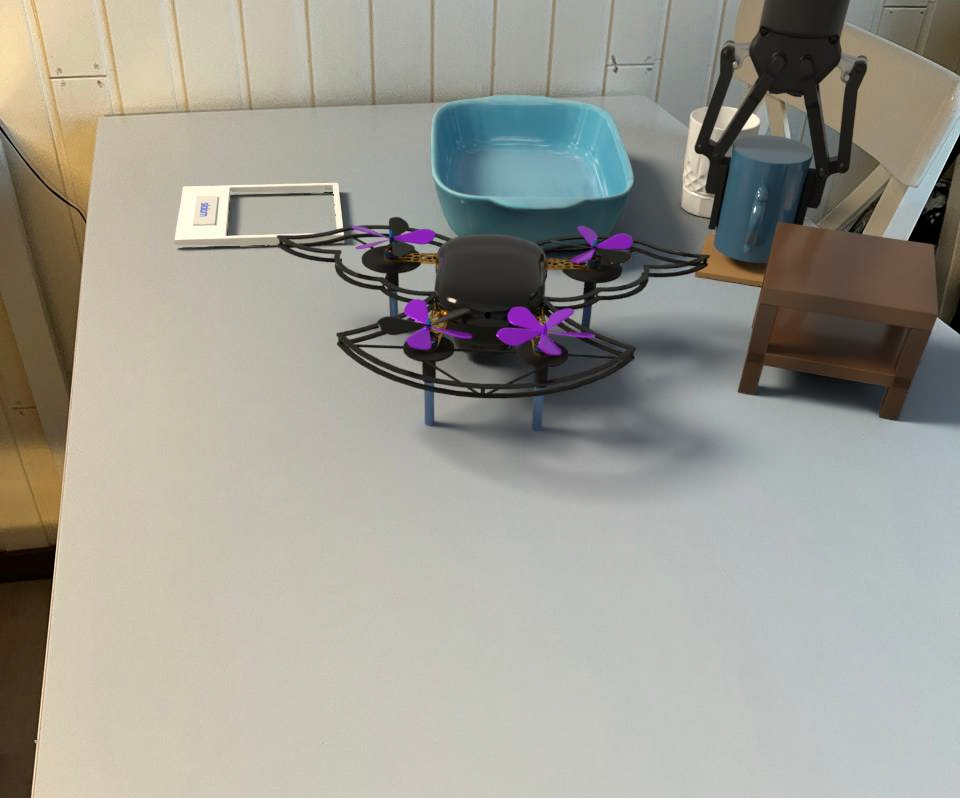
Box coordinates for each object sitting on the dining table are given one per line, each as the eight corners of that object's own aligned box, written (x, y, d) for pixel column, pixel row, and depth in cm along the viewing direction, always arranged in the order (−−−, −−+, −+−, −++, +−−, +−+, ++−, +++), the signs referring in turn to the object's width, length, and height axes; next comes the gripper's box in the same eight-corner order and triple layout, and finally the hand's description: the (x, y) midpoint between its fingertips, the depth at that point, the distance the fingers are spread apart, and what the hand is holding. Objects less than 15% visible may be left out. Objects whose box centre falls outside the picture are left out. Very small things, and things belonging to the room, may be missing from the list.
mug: (790, 237, 109) (815, 141, 101) (782, 280, 101) (808, 179, 94) (717, 226, 110) (737, 130, 103) (704, 268, 103) (724, 167, 95)
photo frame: (183, 184, 115) (337, 181, 118) (184, 194, 116) (338, 190, 118) (174, 238, 105) (343, 233, 107) (176, 248, 106) (344, 243, 108)
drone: (709, 220, 92) (755, 378, 72) (690, 317, 99) (728, 485, 79) (281, 201, 92) (212, 352, 73) (292, 299, 99) (232, 462, 80)
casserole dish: (431, 146, 130) (431, 86, 125) (600, 149, 131) (606, 90, 126) (429, 272, 104) (429, 203, 99) (639, 275, 105) (649, 207, 100)
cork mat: (795, 252, 110) (797, 247, 110) (789, 291, 104) (790, 285, 103) (706, 238, 112) (707, 233, 112) (694, 276, 106) (695, 270, 105)
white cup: (729, 193, 122) (747, 105, 115) (750, 220, 116) (770, 129, 109) (667, 195, 121) (682, 106, 114) (685, 221, 115) (702, 130, 108)
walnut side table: (897, 345, 96) (934, 244, 89) (897, 420, 87) (938, 314, 80) (752, 321, 99) (777, 221, 92) (737, 392, 89) (763, 286, 82)
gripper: (690, -23, 88) (651, 229, 105) (932, 2, 85) (853, 260, 101) (702, -41, 94) (662, 203, 110) (930, -18, 90) (855, 231, 106)
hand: (754, 230), depth 105 cm, fingers closed on mug, 8 cm apart
